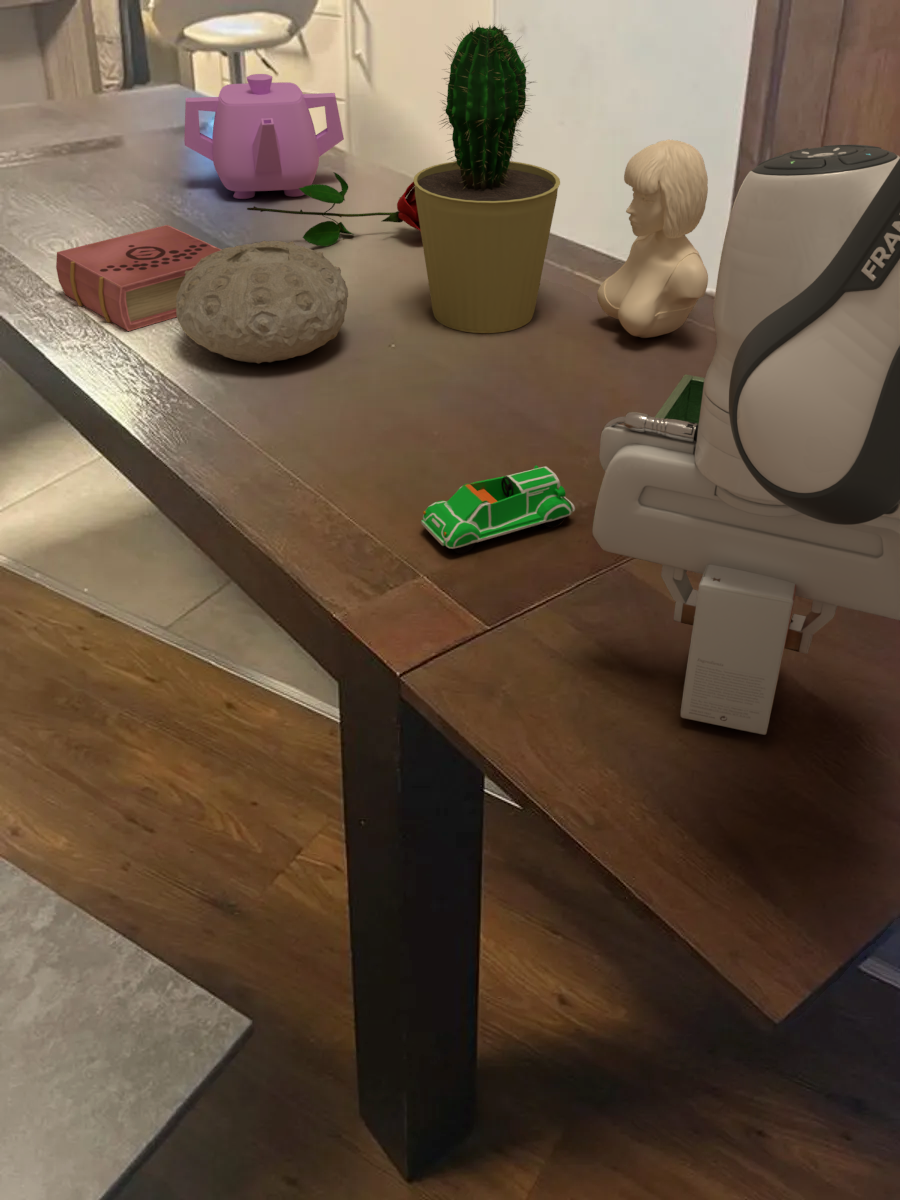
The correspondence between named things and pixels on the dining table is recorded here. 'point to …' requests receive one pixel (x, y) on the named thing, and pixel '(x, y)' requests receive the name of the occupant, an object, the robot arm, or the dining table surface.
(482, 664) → the dining table surface
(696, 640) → the small box
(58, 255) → the book
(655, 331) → the figurine
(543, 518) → the toy car
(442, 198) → the potted cactus
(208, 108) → the teapot
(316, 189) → the flower
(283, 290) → the decorative shell
